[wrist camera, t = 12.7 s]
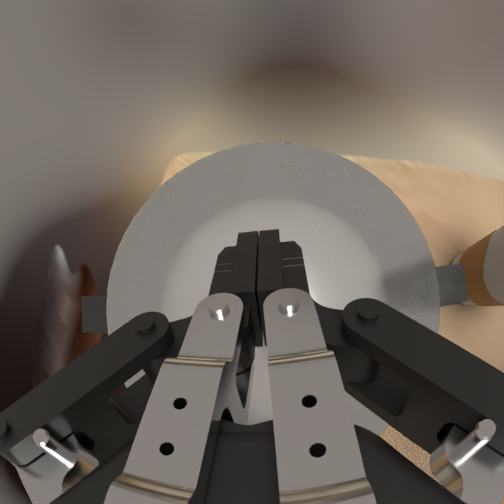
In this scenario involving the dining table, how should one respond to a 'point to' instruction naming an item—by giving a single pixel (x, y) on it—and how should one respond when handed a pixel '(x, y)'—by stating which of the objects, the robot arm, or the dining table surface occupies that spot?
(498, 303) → the coffee cup
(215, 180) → the lid
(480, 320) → the dining table surface
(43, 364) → the dining table surface
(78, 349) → the dining table surface
